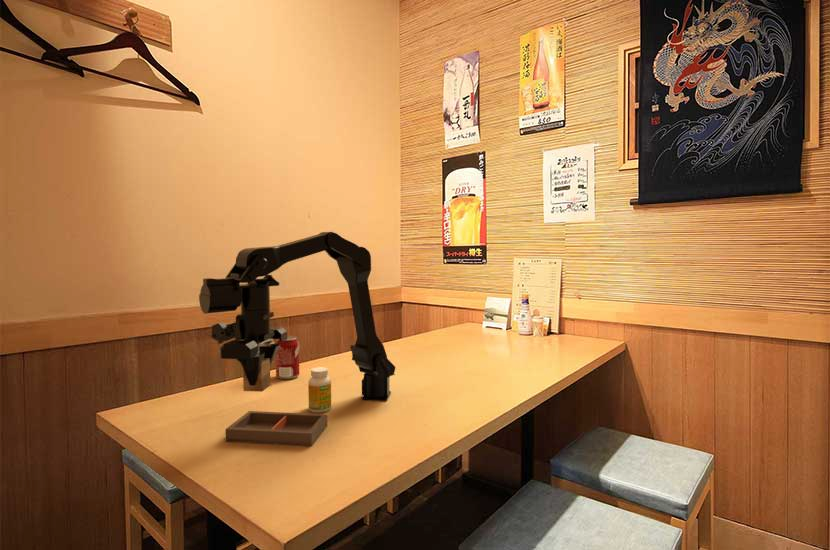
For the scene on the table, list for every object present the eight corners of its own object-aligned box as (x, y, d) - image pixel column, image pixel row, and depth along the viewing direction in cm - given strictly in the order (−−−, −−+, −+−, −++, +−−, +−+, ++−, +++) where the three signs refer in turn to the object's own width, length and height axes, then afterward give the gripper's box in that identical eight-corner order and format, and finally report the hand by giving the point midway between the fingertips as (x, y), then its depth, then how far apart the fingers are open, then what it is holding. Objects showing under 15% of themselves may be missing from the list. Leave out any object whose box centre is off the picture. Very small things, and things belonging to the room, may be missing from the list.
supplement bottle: (320, 414, 106) (319, 373, 105) (303, 410, 109) (303, 370, 108) (336, 407, 110) (335, 368, 110) (319, 403, 113) (319, 365, 113)
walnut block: (270, 385, 97) (269, 358, 96) (262, 391, 93) (261, 363, 93) (252, 384, 97) (252, 357, 97) (243, 390, 93) (242, 362, 93)
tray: (327, 426, 99) (327, 414, 99) (311, 446, 89) (311, 433, 89) (249, 422, 101) (249, 410, 101) (225, 441, 91) (225, 429, 91)
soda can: (293, 381, 132) (292, 340, 131) (271, 379, 133) (270, 339, 132) (303, 374, 138) (302, 335, 137) (283, 373, 139) (282, 335, 139)
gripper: (241, 302, 104) (243, 368, 105) (192, 315, 86) (195, 395, 87) (287, 302, 103) (288, 370, 104) (248, 316, 84) (250, 397, 85)
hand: (257, 382), depth 95 cm, fingers closed on walnut block, 4 cm apart
